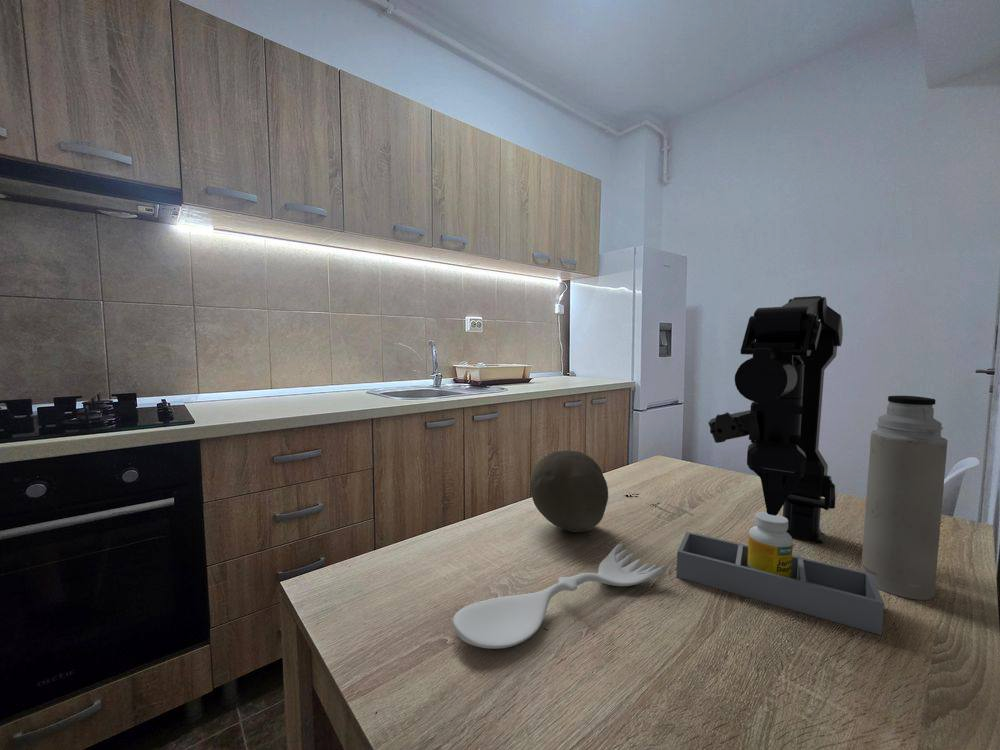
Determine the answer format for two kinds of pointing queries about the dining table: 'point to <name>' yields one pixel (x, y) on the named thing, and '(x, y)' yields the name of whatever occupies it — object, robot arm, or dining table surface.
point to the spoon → (539, 604)
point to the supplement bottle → (770, 545)
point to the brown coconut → (569, 490)
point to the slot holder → (784, 582)
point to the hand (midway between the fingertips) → (771, 504)
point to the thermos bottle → (905, 498)
